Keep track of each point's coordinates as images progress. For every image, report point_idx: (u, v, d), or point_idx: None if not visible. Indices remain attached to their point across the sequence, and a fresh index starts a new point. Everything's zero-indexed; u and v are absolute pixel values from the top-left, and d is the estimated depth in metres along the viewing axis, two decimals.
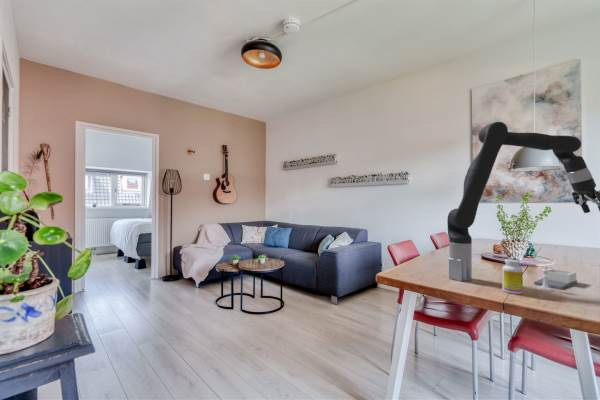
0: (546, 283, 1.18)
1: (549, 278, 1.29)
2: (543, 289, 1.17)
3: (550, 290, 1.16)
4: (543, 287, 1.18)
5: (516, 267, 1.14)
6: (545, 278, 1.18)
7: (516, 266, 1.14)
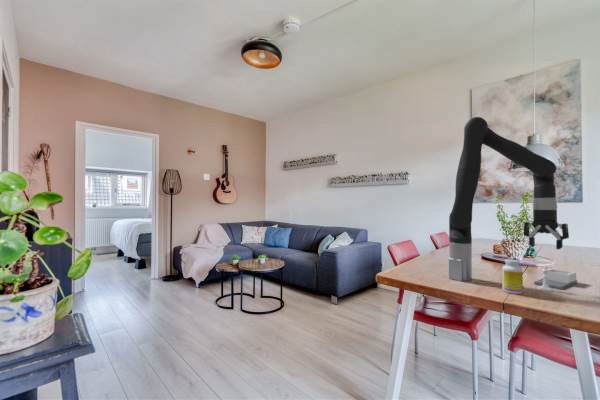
0: (546, 283, 1.18)
1: (549, 278, 1.29)
2: (543, 289, 1.17)
3: (550, 290, 1.16)
4: (543, 287, 1.18)
5: (516, 267, 1.14)
6: (545, 278, 1.18)
7: (516, 266, 1.14)
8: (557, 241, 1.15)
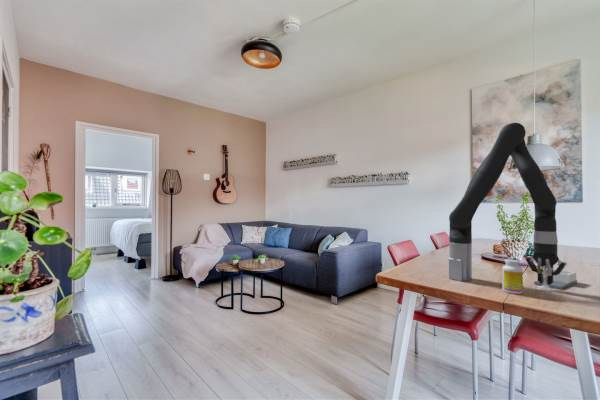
0: (546, 283, 1.18)
1: None
2: (543, 289, 1.17)
3: (550, 290, 1.16)
4: (543, 287, 1.18)
5: (516, 267, 1.14)
6: (545, 278, 1.18)
7: (516, 266, 1.14)
8: (548, 277, 1.17)
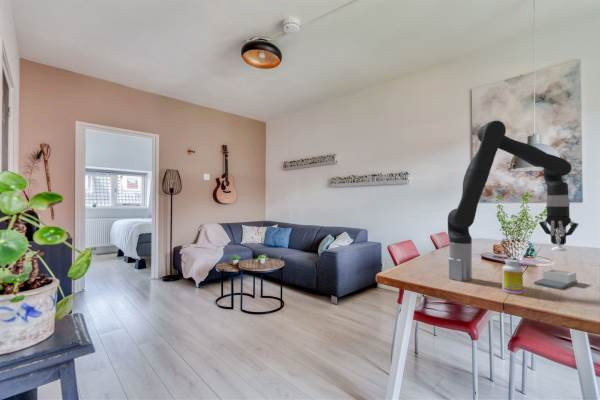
0: (559, 244, 1.27)
1: (549, 278, 1.29)
2: (556, 249, 1.26)
3: (563, 250, 1.25)
4: (556, 247, 1.27)
5: (516, 267, 1.14)
6: (558, 239, 1.27)
7: (516, 266, 1.14)
8: (561, 237, 1.26)
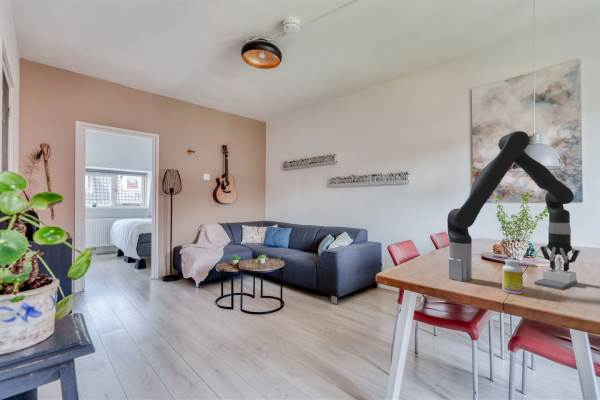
0: None
1: (549, 278, 1.29)
2: None
3: None
4: None
5: (516, 267, 1.14)
6: (559, 269, 1.30)
7: (516, 266, 1.14)
8: (564, 264, 1.28)
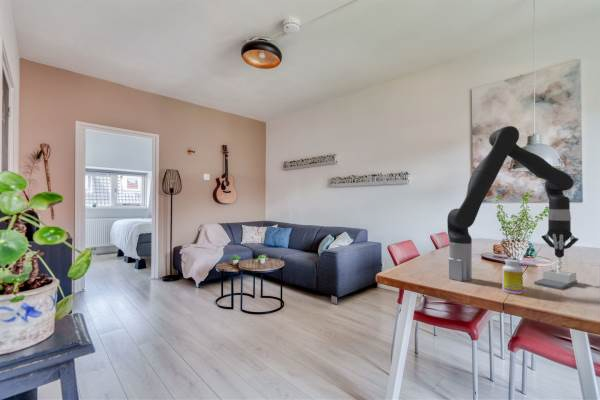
0: None
1: (549, 278, 1.29)
2: None
3: None
4: None
5: (516, 267, 1.14)
6: (559, 269, 1.30)
7: (516, 266, 1.14)
8: (559, 250, 1.29)
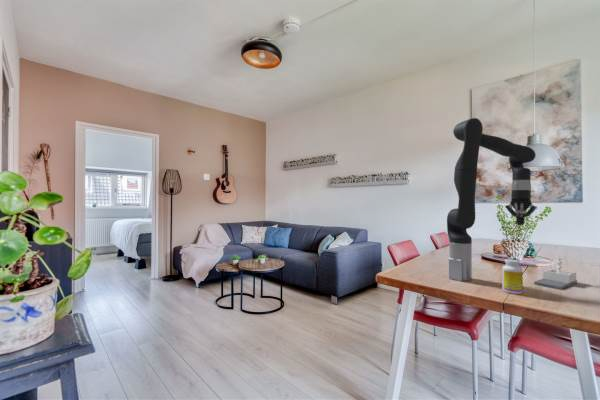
0: None
1: (549, 278, 1.29)
2: None
3: None
4: None
5: (516, 267, 1.14)
6: (559, 269, 1.30)
7: (516, 266, 1.14)
8: (520, 218, 1.39)
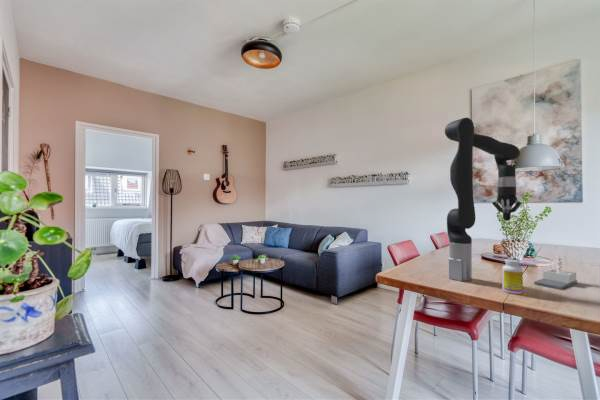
0: None
1: (549, 278, 1.29)
2: None
3: None
4: None
5: (516, 267, 1.14)
6: (559, 269, 1.30)
7: (516, 266, 1.14)
8: (506, 214, 1.43)
